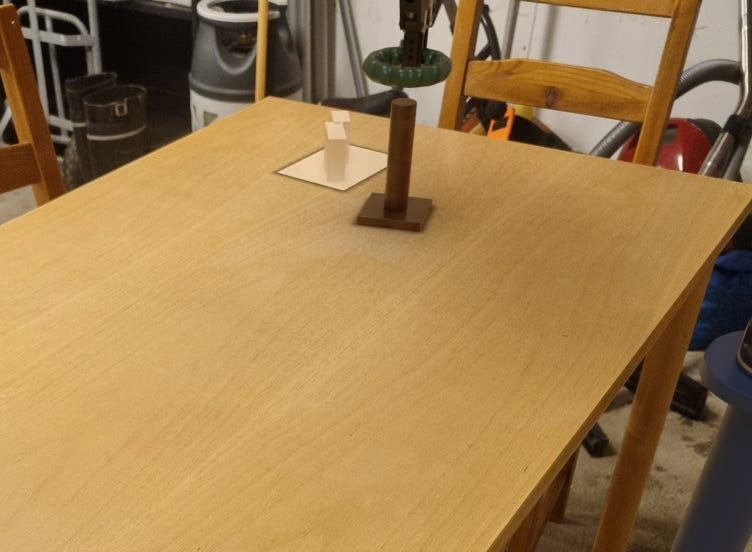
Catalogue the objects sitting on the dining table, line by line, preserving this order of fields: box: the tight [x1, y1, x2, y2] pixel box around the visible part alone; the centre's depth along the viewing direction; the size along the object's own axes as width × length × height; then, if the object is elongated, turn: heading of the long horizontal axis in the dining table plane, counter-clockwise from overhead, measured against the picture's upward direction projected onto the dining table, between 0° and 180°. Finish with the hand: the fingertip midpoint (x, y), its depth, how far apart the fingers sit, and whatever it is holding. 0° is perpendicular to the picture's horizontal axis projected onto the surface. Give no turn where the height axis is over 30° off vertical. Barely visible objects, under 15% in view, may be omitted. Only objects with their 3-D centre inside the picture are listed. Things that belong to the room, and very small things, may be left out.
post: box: [356, 97, 433, 232], centre depth 113 cm, size 8×8×13 cm
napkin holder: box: [277, 110, 388, 192], centre depth 128 cm, size 15×11×6 cm
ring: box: [361, 45, 454, 89], centre depth 106 cm, size 10×10×2 cm
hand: (413, 65), depth 109 cm, fingers closed on ring, 2 cm apart
